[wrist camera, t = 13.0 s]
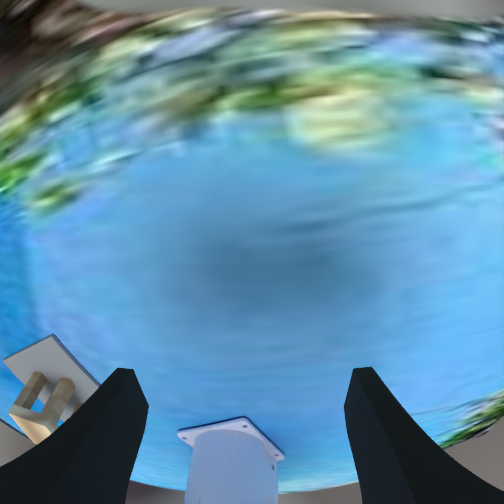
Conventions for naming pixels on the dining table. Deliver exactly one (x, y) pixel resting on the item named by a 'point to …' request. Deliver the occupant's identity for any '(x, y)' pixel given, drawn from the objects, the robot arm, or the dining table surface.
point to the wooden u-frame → (46, 421)
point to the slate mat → (53, 371)
